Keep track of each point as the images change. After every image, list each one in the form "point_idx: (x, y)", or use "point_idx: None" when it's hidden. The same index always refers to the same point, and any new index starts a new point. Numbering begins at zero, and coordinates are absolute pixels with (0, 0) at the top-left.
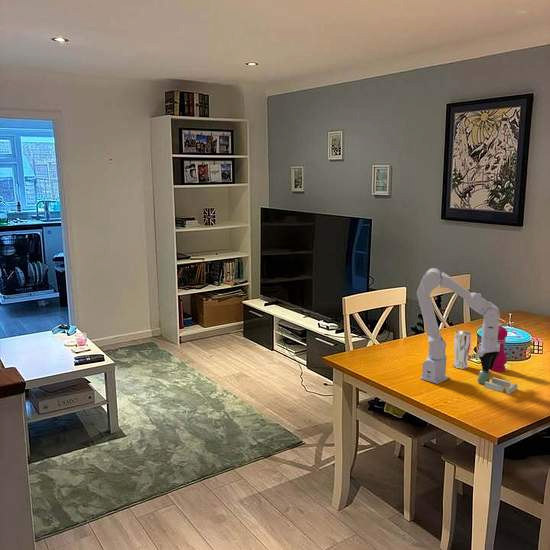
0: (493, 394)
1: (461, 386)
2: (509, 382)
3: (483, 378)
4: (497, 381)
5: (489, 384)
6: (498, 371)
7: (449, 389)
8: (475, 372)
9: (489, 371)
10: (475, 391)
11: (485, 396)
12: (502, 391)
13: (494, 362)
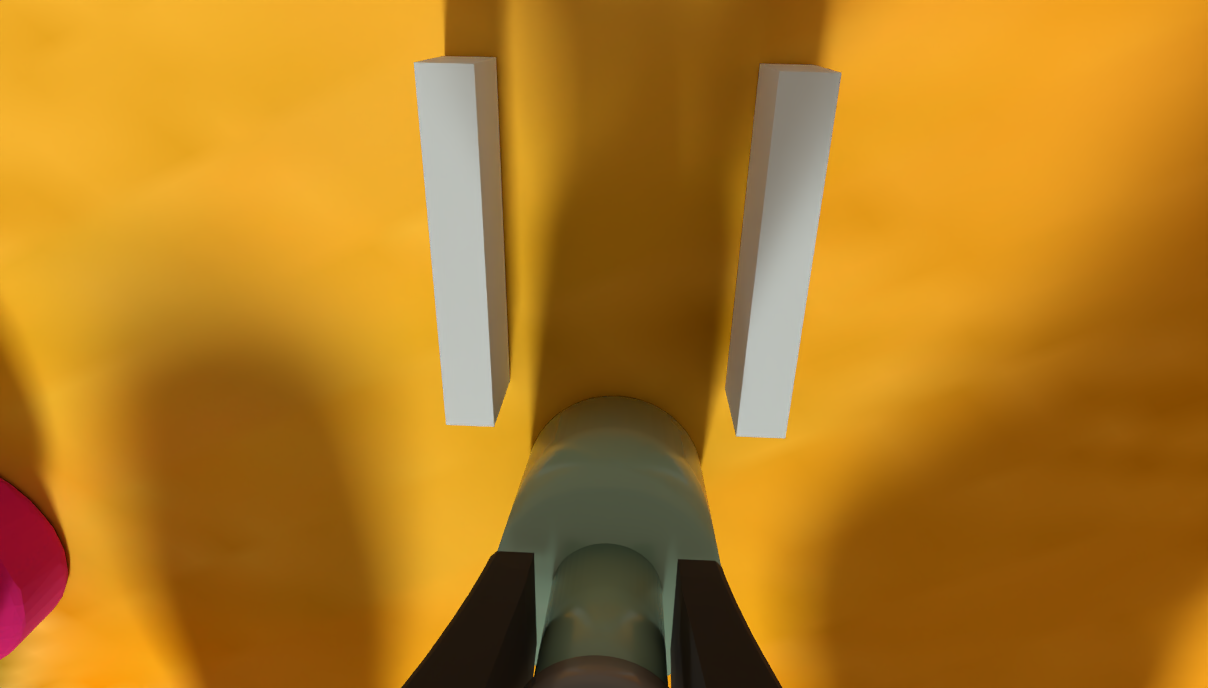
0: (1020, 139)
1: (960, 603)
2: (448, 86)
3: (706, 507)
4: (496, 315)
5: (792, 344)
6: (12, 494)
7: (1169, 657)
8: (325, 669)
9: (513, 551)
10: (1049, 407)
11: (1203, 202)
12: (802, 64)
13: (412, 682)
